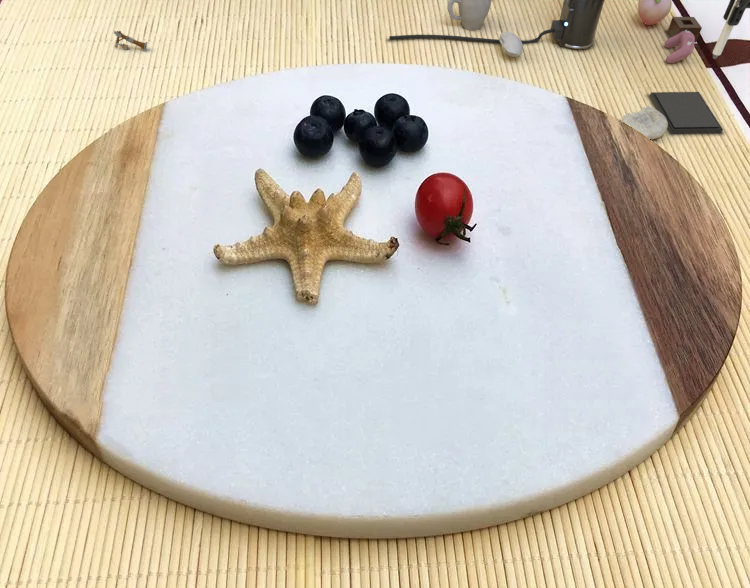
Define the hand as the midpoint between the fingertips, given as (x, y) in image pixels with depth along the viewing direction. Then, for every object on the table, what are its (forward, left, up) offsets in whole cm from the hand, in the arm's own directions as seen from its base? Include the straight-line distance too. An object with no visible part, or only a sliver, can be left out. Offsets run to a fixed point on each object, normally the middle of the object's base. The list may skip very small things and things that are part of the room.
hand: (730, 21), depth 142 cm
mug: (-47, +44, -22) cm, 68 cm away
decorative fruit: (+4, +44, -22) cm, 50 cm away
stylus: (0, 0, -8) cm, 8 cm away
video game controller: (+6, +27, -22) cm, 35 cm away
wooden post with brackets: (-135, +32, -22) cm, 141 cm away
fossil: (-13, -6, -22) cm, 26 cm away
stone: (-38, +28, -22) cm, 52 cm away
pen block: (+11, +37, -22) cm, 44 cm away
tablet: (-1, 0, -22) cm, 22 cm away
